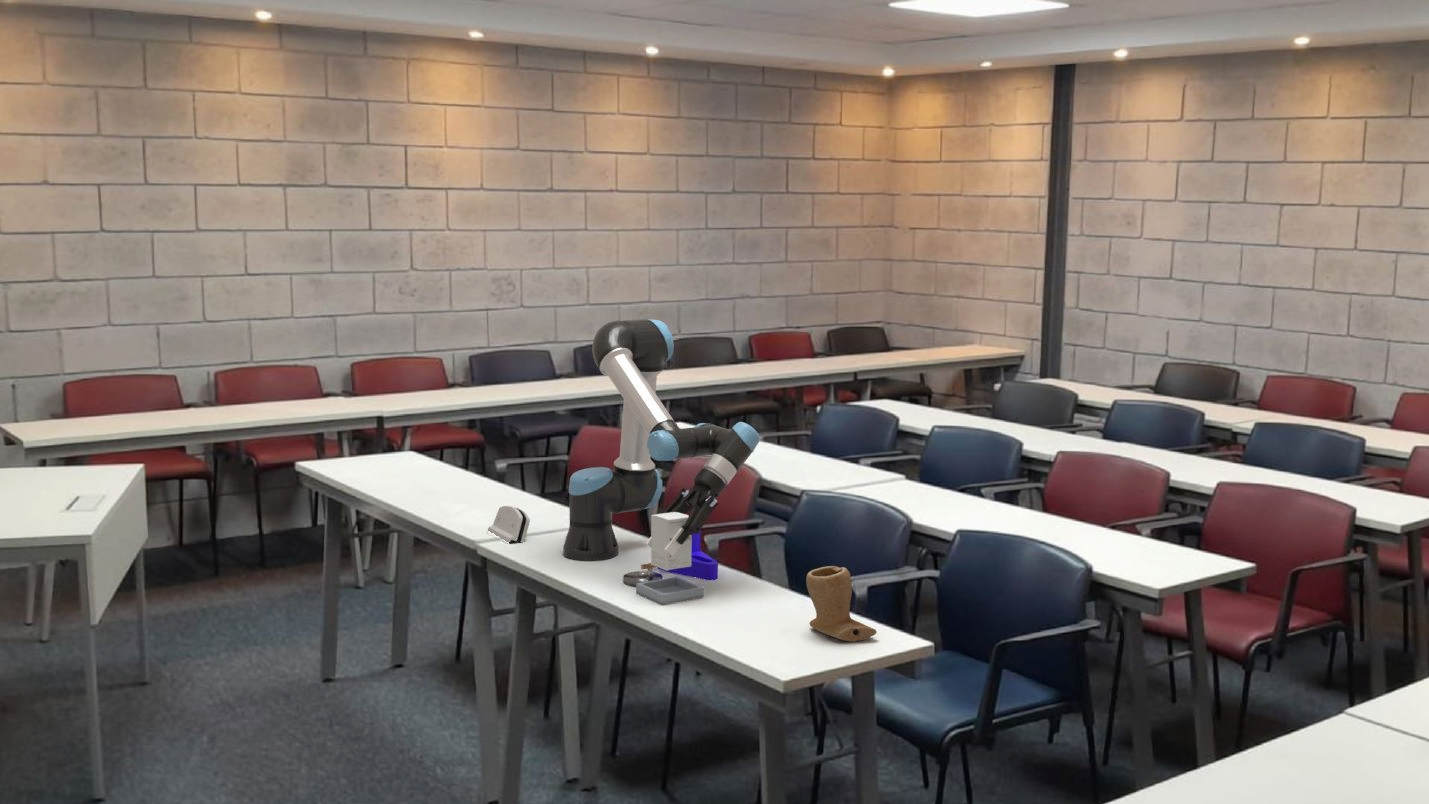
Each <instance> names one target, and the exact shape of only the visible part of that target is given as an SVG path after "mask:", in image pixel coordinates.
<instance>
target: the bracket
mask: <svg viewBox="0 0 1429 804" xmlns="http://www.w3.org/2000/svg"><path fill="white" fill-rule="evenodd" d="M696 528H697V527H696ZM701 530H702V529H701ZM701 530H700V532H699V533H698V534H695V533H693V534H692V551H691V567H683V568H677V569H671V570H668V571H667V570H664V569H661V568H659V567H656V568H658V569H657V570H659V571H660V570H661V571H663V572H666V573H669V574H675V575H679V574H680V575H679V576H684V577H690V578H694V577H696V579H699V578H700V580H704V579H705V581H717V580H718V579H719V561H717V560H715V559H714V558H713V557H711V556H709V554H707V553H705V552H703V551H702V550H701V544H702V543H701V539H702V538H701V536H702V535H701V534H702V532H701ZM716 579H717V580H716Z"/></svg>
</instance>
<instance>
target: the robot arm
mask: <svg viewBox="0 0 1429 804" xmlns="http://www.w3.org/2000/svg"><path fill="white" fill-rule="evenodd" d="M592 340H593V341H592V347H591V349H592V350H591V351H592V352H591V353H592V357H593V360H594V363H595V364H596V367H597V368H598V370H599V371H600V373H601V374H602V375H604V376H606V377H608V378H609V379H610V381H611V382H612V384H613V385H614V386H615V388H616V389H617V391H618V393H619V394H620V395H621V397H622V398H623V408H622V417H621V418H622V422H621V432H620V433H621V434H620V448H619V449H620V450H619V456H618V457H617V458H616V459H615V460H614V461H613V466H612V469H611V468H609V467H604V466H596V467H588V468H583V469H580V470H577V471H575V472H573V473H572V474H571V476H570V478H569V485H568V493H569V495H568V496H569V497H568V498H569V499H568V500H569V502H568V504H569V505H568V506H569V510H568V511H569V527H568V530H567V533H566V537H565V541H564V544H563V547H562V552H563V553H562V555H563V556H564V557H565V558H567V559H572V560H578V561H603V560H608V559H612V558H614V557H615V558H616V557H617V556H618V555H619V544H618V543H619V542H618V541H617V538H616V535H615V532H614V528H613V515H614V514H622V513H627V512H628V513H629V512H637V511H639V512H641V511H643V510H645V509H650V508H653V507H654V506H655V505H656V504H657V503H658V502H659V500H660V498H661V495H662V493H663V492H662V491H663V479H661V477H662V476H661V473H660V471H659V470H658V469H657V468H656V464H655V463H654V461H658V462H659V461H660V462H661V461H663V462H664V461H667V462H669V461H673V460H679V459H680V460H681V459H688V458H690V459H691V458H698V457H706V456H707V457H708V456H709V458H708V460H706V462H705V463H704V465H703V468H701V469H700V470H699V471H698V473H697V474H696V476H694V478H693V481H694V485H693V486H692V487H691V488H689V489H686V488H684V487H682V488H681V489H680V490H679V492H678V494H677V496H675V497H674V499H673V500H672V501H671V502H670V503H669V504H668V505H667V507H666V508H664V510H663V511H662V512H661V513H660V514H663V513H670V512H678V513H682V514H686V513H687V512H689V511H690V512H689V514H688V515H689V516H688V517H689V518H688V519H687V521H686V523H685V525H683V526H682V528H683V529H684V530H683V529H682V528H680V529H679V531H678V532H677V533H676V534H675V536H674V537H673V538H672V540H671V541H670V542H669V544H668V545H667V546H666V548H665V550H666V551H667V552H668V553H669V554H670V555H671V556H674V554H675V553H676V552H677V550H678V549H679V548H680V546H681V545H682V544H683V543H684V542H685V540H686V539H687V538H688V536H689V535H692V534H693V533H695V534H698V533H699V532H700V530H702V528H703V527H704V525H705V524H706V522H707V521H708V519H709V517H710V516H711V513H712V512H713V511H714V509H716V507H718V506H719V504H720V503H719V502H718V500H717V498H718V497H720V496H721V494H722V493H723V491H724V490H725V489H726V485H729V483H730V482H731V481H732V479H734V476H735V475H736V474H737V472H738V471H739V470H741V468H742V467H743V465H744V464H745V462H746V461H747V460H748V459H749V457H750V456H751V454H753V452H754V451H755V449H756V448H757V446H758V445H759V443H760V441H761V437H760V434H759V433H758V432H757V430H756V429H755V428H754V427H752V426H751V425H750V424H748V423H746V422H743V421H739V422H737V423H736V424H734V425H733V426H732V428H731V429H730V428H725V427H722V426H718V425H715V424H713V423H704V422H701V423H698V424H696V425H695V426H693V427H685V428H682V427H681V428H680V427H679V425H678V424H677V423H676V422H675V420H674V419H673V417H672V415H670V413H669V412H668V409H666V407H665V405H664V404H663V402H662V401H661V399H660V398H659V397H658V395H657V393H656V389H657V380H658V379H657V378H658V376H659V374H660V375H661V373H662V372H663V371H664V363H666V362H668V361H669V360H671V357H672V356H673V354H674V349H675V348H674V347H675V346H674V338H673V335H672V332H671V331H670V329H669V327H668V325H667V324H666V323H665V322H663V321H661V320H658V319H649V318H644V319H631V320H629V319H628V320H613V321H609V322H607V323H605V324H604V325H602V326H601V327H600V328H599V329H598V331H596V334H595V335H594V338H593V339H592ZM651 458H652V459H653V460H654V461H653V460H652V459H651ZM696 527H697V528H696ZM646 544H647V545H648V546H649V547H650V548H651V536H650V537H649V538H648V540H647V541H646Z"/></svg>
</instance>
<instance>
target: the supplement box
mask: <svg viewBox="0 0 1429 804" xmlns="http://www.w3.org/2000/svg"><path fill="white" fill-rule="evenodd" d="M650 516H651V519H650V521H651V522H650V524H651V525H650V526H651V527H650V528H651V531H650V532H651V533H650V535H651V536H650V537H651V547H650V550H651V551H650V555H651V556H650V560H651V561H650V563H651V565H653V566H656V568H657V567H659V568H661V569H664V570H667V571H668V570H671V569H677V568H683V567H691V551H692V535H689V536H688V538H687V539H686V540H685V542H684V543H683V544H682V545H681V546H680V548H679V549H678V550H677V552H676V553H675V554H674V556H671V555H670V554H669V553H668V552H667V551H666V550H665V548H666V546H667V545H668V544H669V542H670V541H671V540H672V538H673V537H674V536H675V534H676V533H677V532H678V531H679V529H680V528H682V526H683V525H685V523H686V521H687V519H688V518H689V517H688V516H689V514H686V513H685V514H682V513H678V512H670V513H663V514H661V513H657V514H651V515H650ZM682 529H683V528H682ZM683 530H684V529H683Z"/></svg>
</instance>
